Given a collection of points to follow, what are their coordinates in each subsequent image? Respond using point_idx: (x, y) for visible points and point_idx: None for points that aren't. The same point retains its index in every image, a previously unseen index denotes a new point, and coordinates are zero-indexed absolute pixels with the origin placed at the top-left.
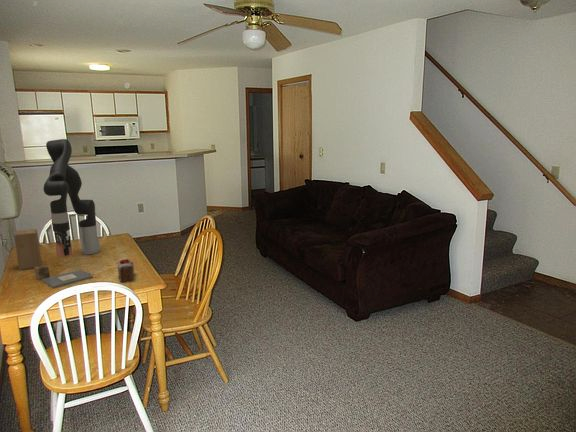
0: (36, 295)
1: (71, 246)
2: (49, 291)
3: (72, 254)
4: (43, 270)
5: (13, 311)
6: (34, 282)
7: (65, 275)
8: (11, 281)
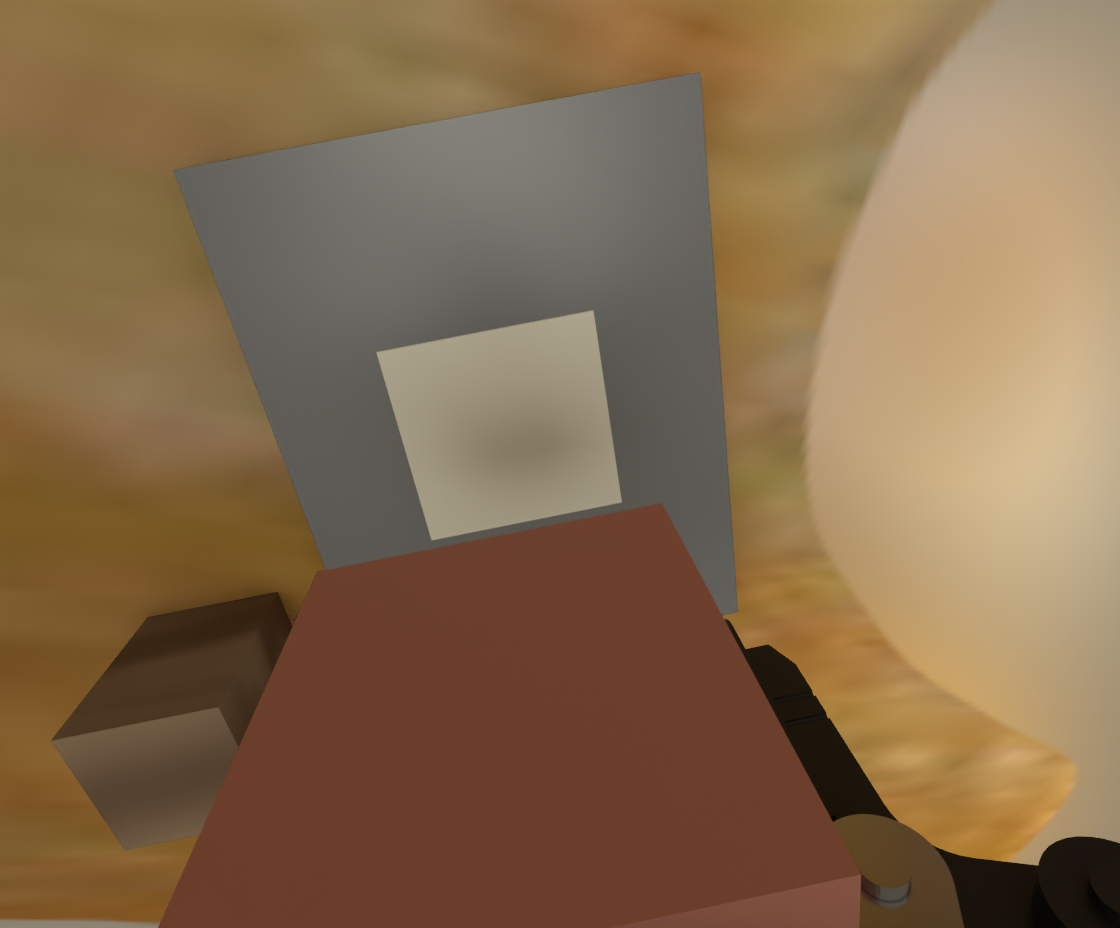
0: None
1: (776, 725)
2: (793, 632)
3: (665, 514)
4: None
5: (1012, 847)
6: None
7: (391, 442)
8: None
